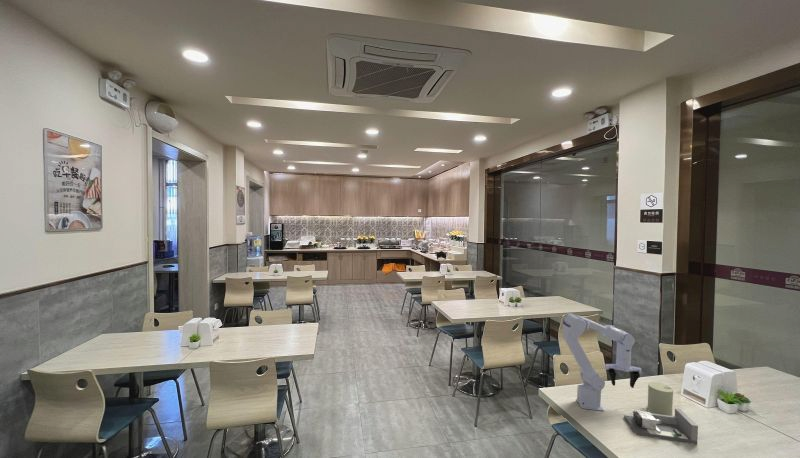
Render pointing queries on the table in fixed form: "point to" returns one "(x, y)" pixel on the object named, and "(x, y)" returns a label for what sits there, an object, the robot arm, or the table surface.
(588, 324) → the robot arm
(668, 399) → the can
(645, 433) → the gauge base
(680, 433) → the peak marker
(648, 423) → the white mechanical block
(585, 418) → the table surface
